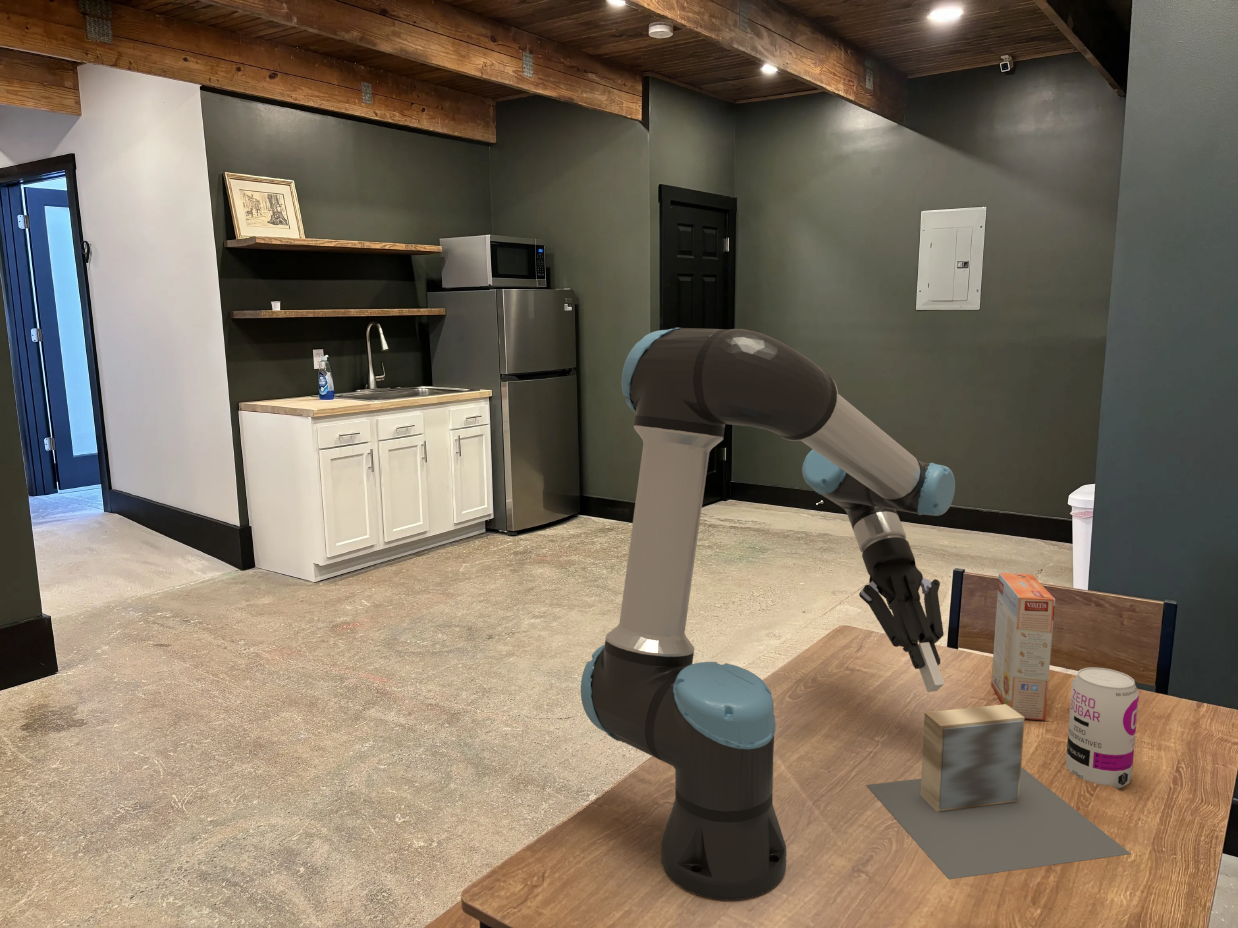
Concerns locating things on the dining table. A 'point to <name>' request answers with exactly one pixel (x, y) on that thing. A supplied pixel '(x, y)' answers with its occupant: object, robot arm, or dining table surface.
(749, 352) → the robot arm
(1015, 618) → the cracker box
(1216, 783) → the dining table surface
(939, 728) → the wooden block
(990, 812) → the mat
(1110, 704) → the supplement can
